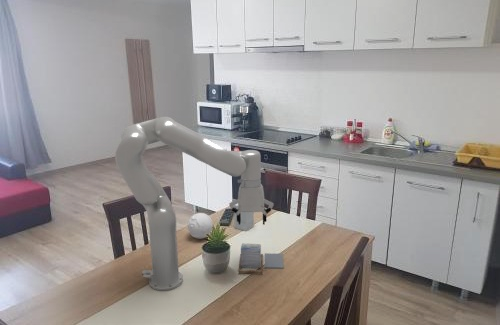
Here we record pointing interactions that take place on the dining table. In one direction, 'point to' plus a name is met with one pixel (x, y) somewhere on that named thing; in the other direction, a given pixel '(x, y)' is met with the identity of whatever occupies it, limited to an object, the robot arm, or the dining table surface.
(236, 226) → the supplement box
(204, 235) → the decorative ball
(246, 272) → the wooden frame
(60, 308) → the dining table surface
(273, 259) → the rubber mat
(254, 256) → the medicine box
